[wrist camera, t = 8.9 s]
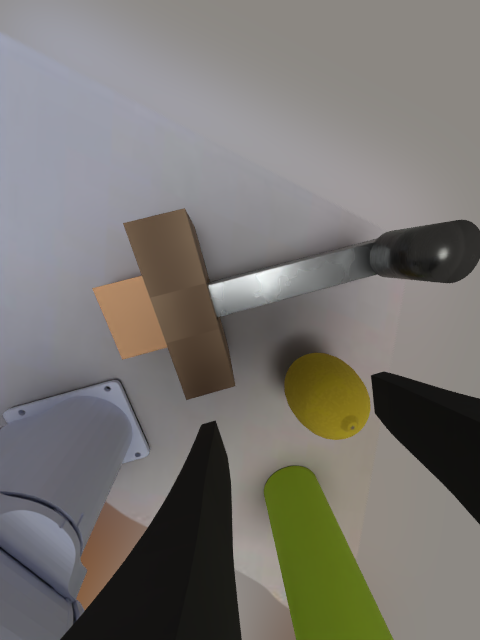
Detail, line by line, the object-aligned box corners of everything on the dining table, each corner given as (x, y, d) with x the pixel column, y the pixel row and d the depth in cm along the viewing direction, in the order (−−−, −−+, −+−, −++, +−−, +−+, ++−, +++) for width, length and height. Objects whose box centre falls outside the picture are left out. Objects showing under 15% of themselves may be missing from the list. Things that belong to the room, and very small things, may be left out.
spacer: (138, 342, 19) (122, 359, 16) (114, 283, 18) (92, 288, 14) (185, 329, 19) (179, 343, 16) (165, 270, 18) (155, 272, 15)
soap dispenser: (283, 522, 26) (481, 1254, 7) (253, 484, 24) (414, 1340, 5) (328, 497, 26) (662, 1174, 7) (302, 456, 24) (662, 1233, 5)
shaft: (190, 323, 16) (177, 358, 10) (177, 284, 15) (156, 298, 10) (389, 269, 17) (481, 274, 11) (386, 229, 16) (484, 213, 10)
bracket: (194, 356, 20) (186, 399, 14) (155, 236, 17) (123, 223, 11) (228, 347, 20) (235, 385, 14) (194, 226, 17) (184, 208, 11)
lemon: (299, 328, 21) (351, 369, 13) (343, 360, 22) (414, 414, 14) (261, 376, 21) (289, 442, 14) (306, 404, 23) (355, 479, 15)
